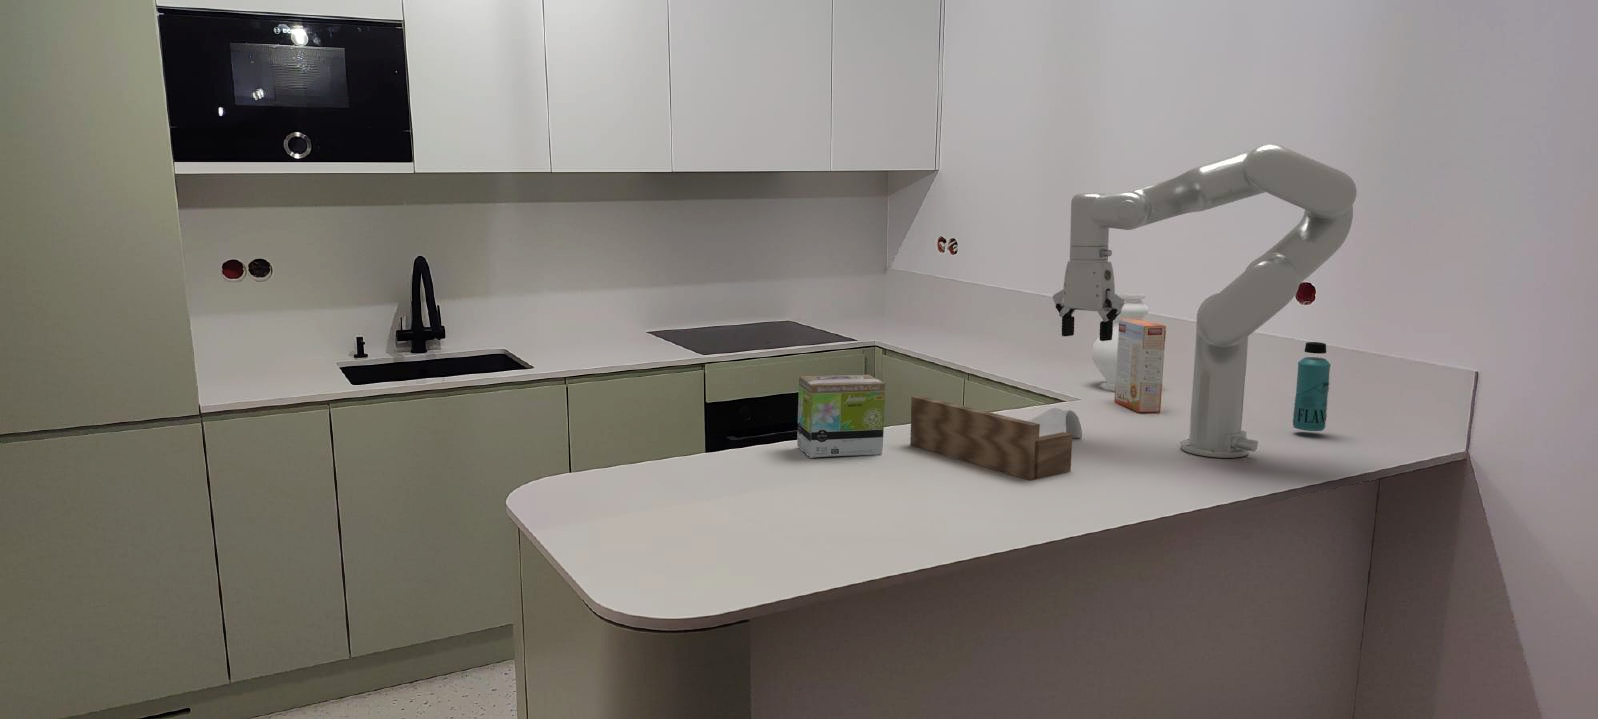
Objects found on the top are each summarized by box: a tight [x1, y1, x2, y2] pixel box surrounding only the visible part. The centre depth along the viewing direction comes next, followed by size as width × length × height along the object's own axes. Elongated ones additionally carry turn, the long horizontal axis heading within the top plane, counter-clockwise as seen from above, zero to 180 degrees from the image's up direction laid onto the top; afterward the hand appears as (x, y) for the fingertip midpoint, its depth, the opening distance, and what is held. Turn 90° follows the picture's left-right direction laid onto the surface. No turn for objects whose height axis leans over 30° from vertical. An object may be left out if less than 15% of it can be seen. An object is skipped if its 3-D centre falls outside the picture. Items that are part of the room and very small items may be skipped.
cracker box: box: [1114, 319, 1167, 414], centre depth 248 cm, size 14×6×21 cm, turn 6°
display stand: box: [909, 395, 1073, 481], centre depth 200 cm, size 32×11×10 cm, turn 35°
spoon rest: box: [1027, 407, 1083, 439], centre depth 209 cm, size 24×12×7 cm, turn 142°
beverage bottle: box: [1292, 341, 1331, 432], centre depth 220 cm, size 6×7×20 cm
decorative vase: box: [1091, 292, 1149, 392], centre depth 273 cm, size 18×18×25 cm
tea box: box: [796, 374, 886, 459], centre depth 204 cm, size 15×10×15 cm, turn 105°
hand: (1086, 338), depth 213 cm, fingers open, 9 cm apart
